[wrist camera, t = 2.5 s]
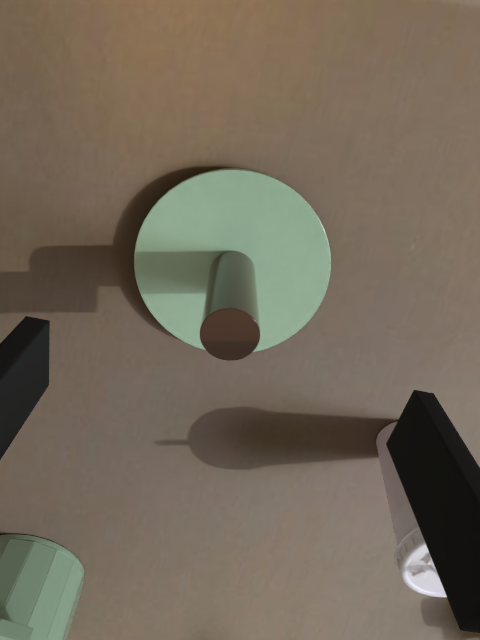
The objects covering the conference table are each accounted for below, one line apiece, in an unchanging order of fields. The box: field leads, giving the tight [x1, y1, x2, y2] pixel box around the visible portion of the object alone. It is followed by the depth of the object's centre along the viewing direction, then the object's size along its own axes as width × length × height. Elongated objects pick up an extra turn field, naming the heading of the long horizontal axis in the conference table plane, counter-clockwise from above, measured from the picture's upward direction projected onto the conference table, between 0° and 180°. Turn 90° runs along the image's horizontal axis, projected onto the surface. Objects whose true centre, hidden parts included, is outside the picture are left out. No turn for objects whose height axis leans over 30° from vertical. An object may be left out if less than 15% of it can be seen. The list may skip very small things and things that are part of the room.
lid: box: [134, 168, 331, 360], centre depth 22 cm, size 11×11×8 cm
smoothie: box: [376, 421, 447, 597], centre depth 26 cm, size 6×6×14 cm
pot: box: [0, 534, 84, 640], centre depth 36 cm, size 10×16×10 cm, turn 147°
